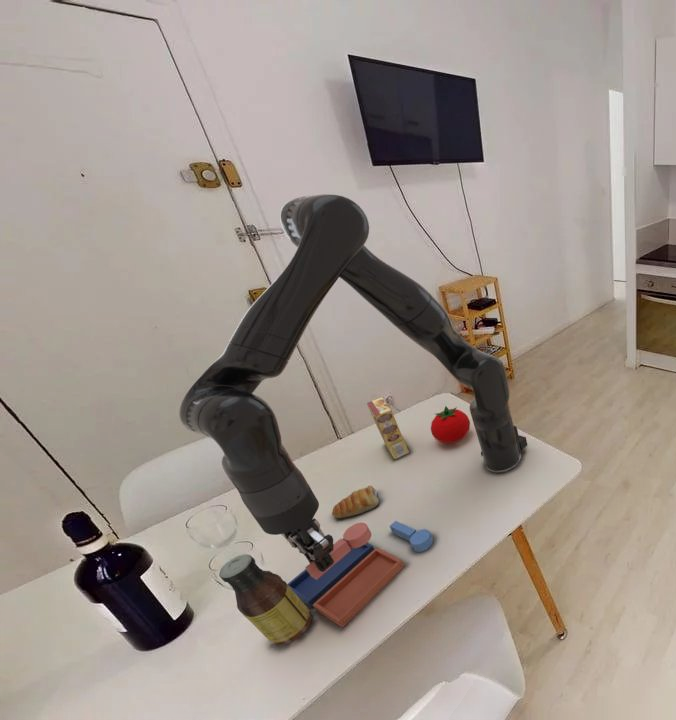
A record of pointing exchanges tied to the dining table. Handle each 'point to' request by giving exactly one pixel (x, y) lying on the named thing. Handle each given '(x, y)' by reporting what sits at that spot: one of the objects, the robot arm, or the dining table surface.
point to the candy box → (388, 427)
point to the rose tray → (358, 587)
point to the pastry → (356, 503)
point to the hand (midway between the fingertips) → (323, 564)
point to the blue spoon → (413, 536)
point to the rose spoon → (344, 546)
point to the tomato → (450, 425)
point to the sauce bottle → (266, 600)
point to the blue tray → (327, 576)
